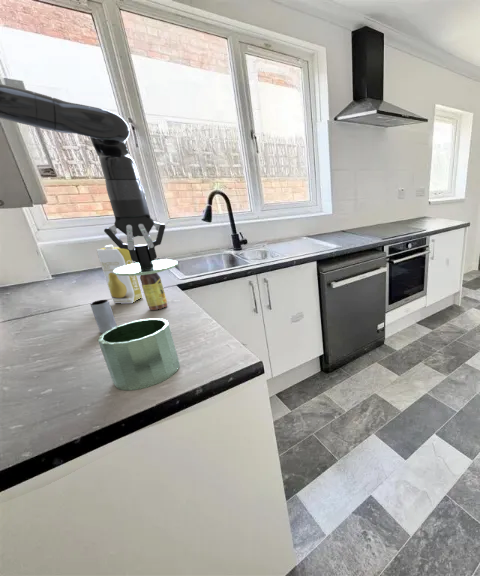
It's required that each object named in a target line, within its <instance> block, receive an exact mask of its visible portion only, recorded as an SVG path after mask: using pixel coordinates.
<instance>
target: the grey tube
mask: <svg viewBox="0 0 480 576" xmlns="http://www.w3.org/2000/svg"><path fill="white" fill-rule="evenodd" d="M89 306H90V308H91V311H92V314H93V316H94V319H95V322H96V325H97V328H98V330H99V333H100V334H103V333H105V332H106V331H108V330H110V329H112V328H114V327H117V326H118V325H117V322H116V319H115V316H114V313H113V310H112V307H111V304H110V301H109V299H99V300H95V301H92V302H90V304H89Z"/></svg>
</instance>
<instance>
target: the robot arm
mask: <svg viewBox="0 0 480 576" xmlns="http://www.w3.org/2000/svg"><path fill="white" fill-rule="evenodd" d="M0 119H2V120H6V121H9V122H13V123H18V124H20V125H21V124H22V125H26V126H29V127H34V128H38V129H43V130H46V131H51V132H56V133H61V134H75V135H80V136H85V137H87V138H88V137H89V139H90V141H91V143H92V146H93V148H94V151H95V153H96V155H97V158H98V159H99V164H100V167H101V171H102V175H103V178H104V180H105V181H104V182H105V189H106V192H107V196H108V199H109V204H110V207H111V209H112V213H113V215H114V224H112V225H111V226H109V227H105V228H104V229H103V232H104V234H106V235H107V236H108V238H110V240H112V242H113V243H114V244H115V245H116V247H119V248H121V249H127V250H129V253H130V256H131V260H132V261H133V262H134V263H139V261H138V257H137V254H136V250H135V247H134V246H135V241H134V240H135V238H136V237H143V238H144V240H145V242H146V244H147V245H148V250H149V253H150V257H151V260H152V261H155V260H157V257H158V256H157V252H156V248H155V247H157V246H160V245H162V240H163V237H164V235H165V234H164V233H165V230H166V225H165V223H160V222H156V221H154V219H153V218H152V217H151V214H150V210H149V206H148V202H147V198H146V193H145V190H144V188H143V185H142V183H141V180H140V175H139V172H138V169H137V165H136V163H135V160H134V159H133V158H132V157H131V156H130V154H129V150H128V146H127V143H126V141H127V140H128V139H129V137H130V131H131V130H130V127H129V124H128V123H127V122H126V121H125V119H124V118H123V117H121V115H119V114H117V113H116V112H112V111H110V110H107V109H103V108H100V107H95V106H90V105H85V104H80V103H75V102H69V101H65V100H63V99H59V98H57V97H53V96H49V95H47V94H43V93H40V92H36V91H33V90H28V89H25V88H21V87H17V86H12V85H8V84H3V83H0ZM153 227H155V230H156V231H157V234H156V238H155V240H152V237H151V235H150V232H151V230H152V229H153ZM117 229H118V230H119V231H121V233H123V234H124V235H126V241H127V243H124V242H123V241H122V239H121V238H120V237H119V235H117V234H118V231H117Z"/></svg>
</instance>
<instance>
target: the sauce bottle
mask: <svg viewBox="0 0 480 576" xmlns="http://www.w3.org/2000/svg"><path fill="white" fill-rule="evenodd" d="M139 279H140V280H139V281H140V282H141V289H142V290H143V291H142V292H143V294H144V297H145V300H146V304H147V307H148V308H149V309H148V310H150V311H158V309H159V310H163V309H165V308H167V307H166V306H168V299H167V296H166V292H165V289H164V285H163V282H162V278H161V276H160V275H159V273H153V274H147V275H139ZM164 307H165V308H164ZM162 308H163V309H162Z"/></svg>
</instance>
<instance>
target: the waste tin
mask: <svg viewBox="0 0 480 576" xmlns="http://www.w3.org/2000/svg"><path fill="white" fill-rule="evenodd" d="M97 342H98V344H99V348H100V350H101V353H102V355H103V358H104V361H105V364H106V366H107V370H108V372H109V375H110V378H111V380H112V383H113V385H114V387H115V388H116V389H118V390H121V391H136V390H142V389H146V388H149V387H153V386H155V385H157V384H161V383H162V382H164V381H165V380H168V379H169V378H171V377H173V376H174V375H175V374H176V373H177V372H178V370H179V369H180V366H181V364H180V360H179V356H178V352H177V347H176V345H175V341H174V338H173V334H172V330H171V326H170V323H169V321H168V320H166V319H164V318H154V317H153V318H143V319H138V320H133V321H130V322H126V323H123V324H120V325H117V327H114V328H112V329H110V330H108V331H106V332H105V333H101V335H99V337H98V339H97Z"/></svg>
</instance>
